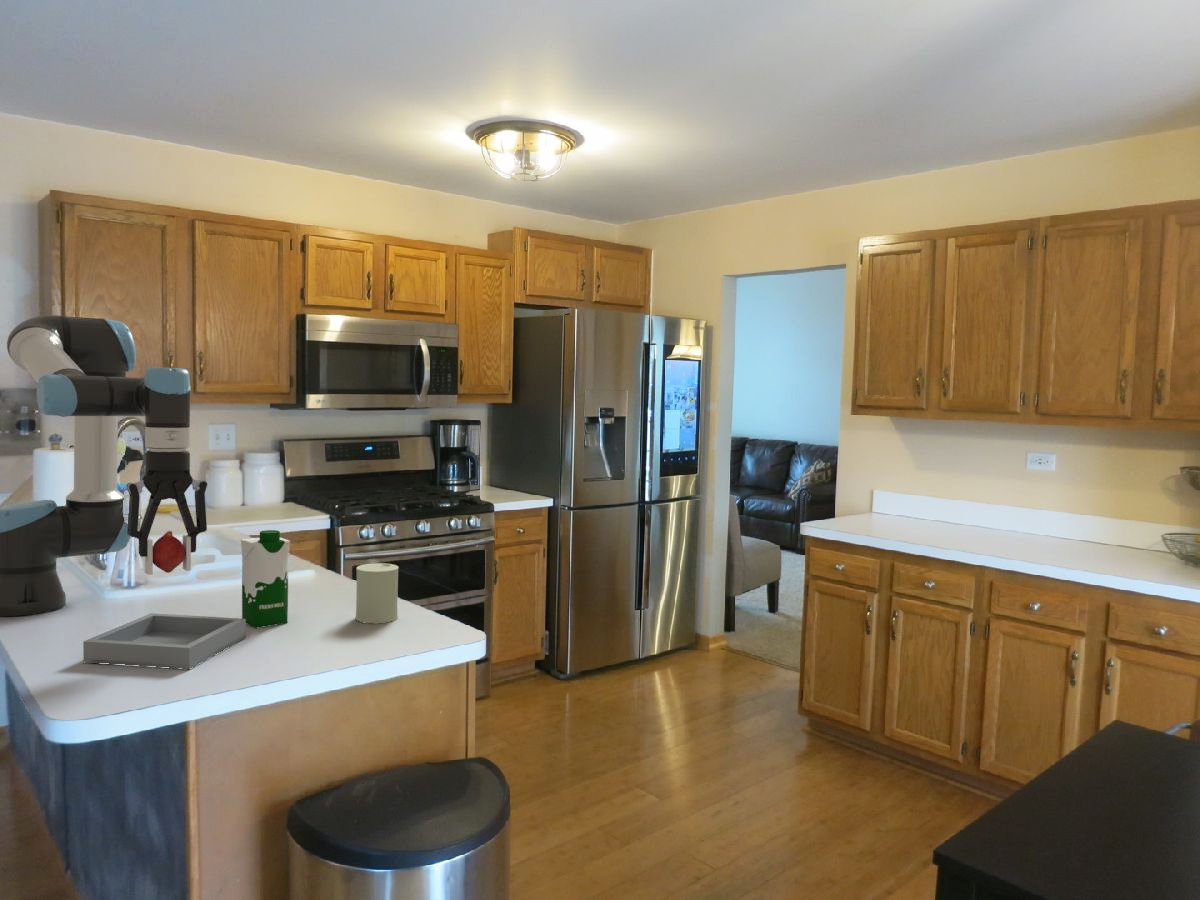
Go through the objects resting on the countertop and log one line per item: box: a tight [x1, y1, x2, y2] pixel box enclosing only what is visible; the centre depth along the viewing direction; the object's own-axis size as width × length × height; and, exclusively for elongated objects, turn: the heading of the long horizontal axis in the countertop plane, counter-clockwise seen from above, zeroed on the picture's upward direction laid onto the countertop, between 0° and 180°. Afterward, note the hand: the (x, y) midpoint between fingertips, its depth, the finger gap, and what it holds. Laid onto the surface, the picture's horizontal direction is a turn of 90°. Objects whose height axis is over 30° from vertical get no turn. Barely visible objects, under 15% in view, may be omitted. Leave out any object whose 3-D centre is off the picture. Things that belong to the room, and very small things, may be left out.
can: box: [355, 562, 400, 624], centre depth 189 cm, size 9×9×12 cm
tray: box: [82, 612, 247, 670], centre depth 162 cm, size 20×20×4 cm
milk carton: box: [240, 529, 291, 629], centre depth 183 cm, size 9×9×20 cm
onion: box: [153, 530, 185, 574], centre depth 161 cm, size 6×6×8 cm
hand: (167, 571), depth 161 cm, fingers closed on onion, 6 cm apart
